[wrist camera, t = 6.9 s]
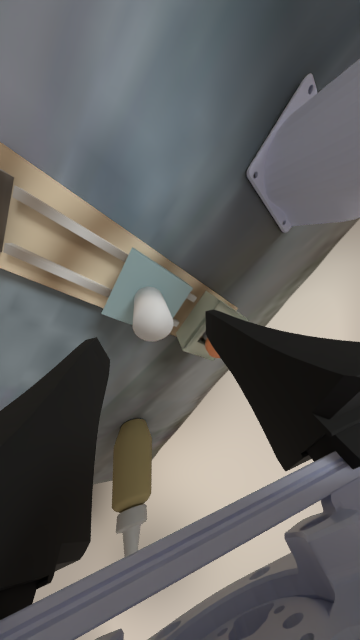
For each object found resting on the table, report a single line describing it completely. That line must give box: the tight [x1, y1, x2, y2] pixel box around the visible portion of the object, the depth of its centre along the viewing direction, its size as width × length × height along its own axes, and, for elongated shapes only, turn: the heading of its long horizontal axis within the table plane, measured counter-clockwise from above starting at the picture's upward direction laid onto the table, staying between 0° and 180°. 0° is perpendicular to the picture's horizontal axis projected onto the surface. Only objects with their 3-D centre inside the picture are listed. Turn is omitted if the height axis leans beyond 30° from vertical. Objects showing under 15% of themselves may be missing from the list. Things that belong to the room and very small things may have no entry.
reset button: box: [202, 331, 220, 358], centre depth 18 cm, size 4×4×4 cm
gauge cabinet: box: [176, 291, 249, 361], centre depth 20 cm, size 6×8×5 cm
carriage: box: [101, 247, 193, 341], centre depth 13 cm, size 7×7×8 cm
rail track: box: [0, 142, 238, 341], centre depth 17 cm, size 28×9×3 cm, turn 56°
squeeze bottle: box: [112, 419, 152, 557], centre depth 26 cm, size 8×8×18 cm
